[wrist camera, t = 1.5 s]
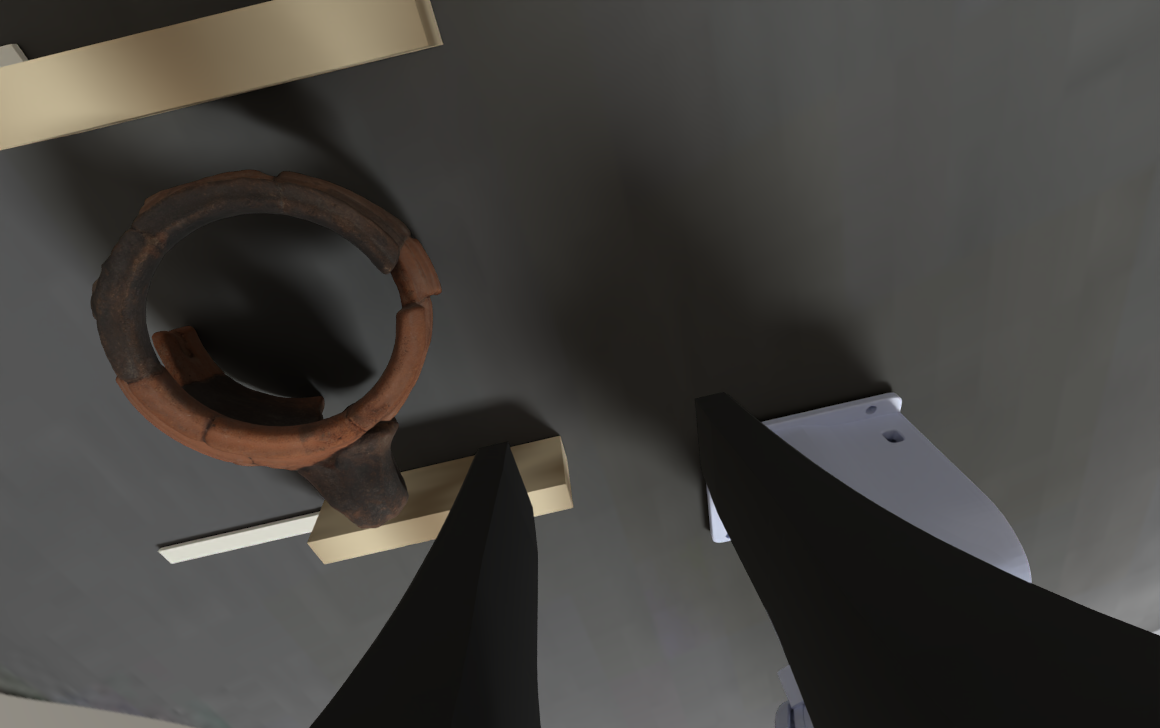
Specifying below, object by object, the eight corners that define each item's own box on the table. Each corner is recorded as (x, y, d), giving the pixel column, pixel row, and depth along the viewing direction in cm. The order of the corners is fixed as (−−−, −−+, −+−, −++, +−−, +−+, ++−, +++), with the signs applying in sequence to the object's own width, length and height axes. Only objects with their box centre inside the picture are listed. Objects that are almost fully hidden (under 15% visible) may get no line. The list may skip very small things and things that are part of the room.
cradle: (424, -20, 14) (404, -32, 11) (567, 458, 24) (573, 507, 21) (38, 75, 14) (-65, 83, 11) (344, 509, 24) (324, 564, 22)
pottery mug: (98, 269, 17) (-91, 245, 10) (353, 162, 20) (355, 81, 13) (304, 529, 21) (279, 654, 14) (496, 407, 24) (563, 455, 16)
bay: (17, 44, 13) (11, 44, 13) (351, 519, 25) (350, 523, 24) (-301, 121, 14) (-311, 123, 13) (174, 560, 25) (171, 563, 24)
